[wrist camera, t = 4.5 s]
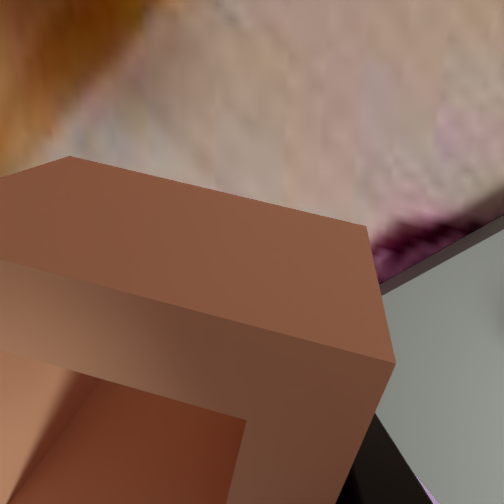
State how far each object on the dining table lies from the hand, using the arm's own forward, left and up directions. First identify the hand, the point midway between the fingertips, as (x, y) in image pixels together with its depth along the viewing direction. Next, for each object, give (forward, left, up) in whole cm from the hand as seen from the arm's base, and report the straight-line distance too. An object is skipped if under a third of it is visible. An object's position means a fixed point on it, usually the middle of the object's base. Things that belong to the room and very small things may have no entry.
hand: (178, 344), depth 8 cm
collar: (0, 0, -1) cm, 1 cm away
